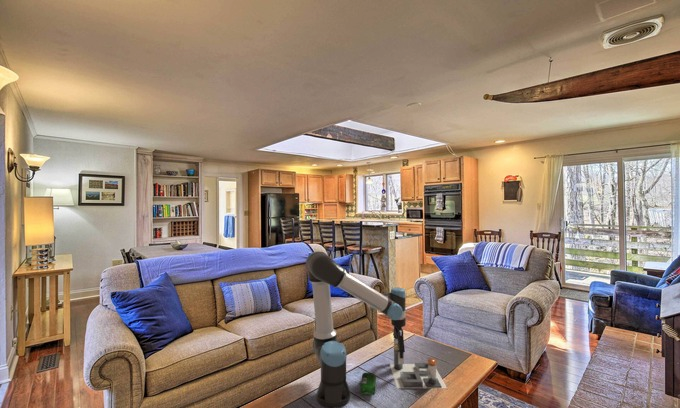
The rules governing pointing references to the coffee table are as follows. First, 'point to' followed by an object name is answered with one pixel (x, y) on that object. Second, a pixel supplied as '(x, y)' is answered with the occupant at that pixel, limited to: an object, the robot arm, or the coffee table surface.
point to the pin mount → (411, 383)
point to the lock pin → (432, 371)
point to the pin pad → (431, 384)
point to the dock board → (412, 369)
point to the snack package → (368, 383)
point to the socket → (421, 365)
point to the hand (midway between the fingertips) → (398, 357)
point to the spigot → (396, 365)
